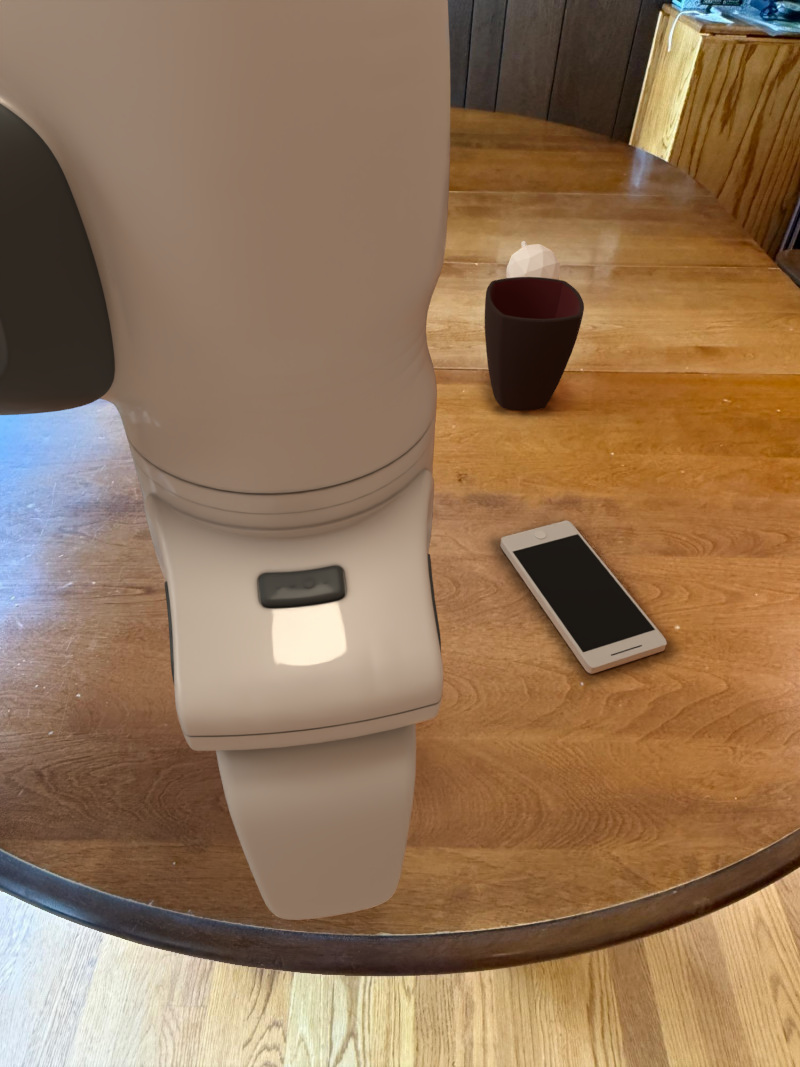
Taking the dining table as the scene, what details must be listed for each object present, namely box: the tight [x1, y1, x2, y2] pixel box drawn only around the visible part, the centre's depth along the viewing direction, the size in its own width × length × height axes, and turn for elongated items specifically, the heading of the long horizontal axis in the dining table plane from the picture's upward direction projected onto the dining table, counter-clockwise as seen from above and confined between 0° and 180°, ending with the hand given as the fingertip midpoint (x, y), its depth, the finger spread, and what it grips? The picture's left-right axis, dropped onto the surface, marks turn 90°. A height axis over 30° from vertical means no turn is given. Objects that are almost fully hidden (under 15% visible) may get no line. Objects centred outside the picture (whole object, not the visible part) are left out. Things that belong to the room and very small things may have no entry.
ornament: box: [505, 240, 561, 280], centre depth 103 cm, size 7×7×8 cm
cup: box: [484, 277, 585, 412], centre depth 85 cm, size 10×14×12 cm
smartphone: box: [500, 520, 668, 675], centre depth 65 cm, size 7×15×1 cm, turn 21°
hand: (315, 726), depth 33 cm, fingers closed
